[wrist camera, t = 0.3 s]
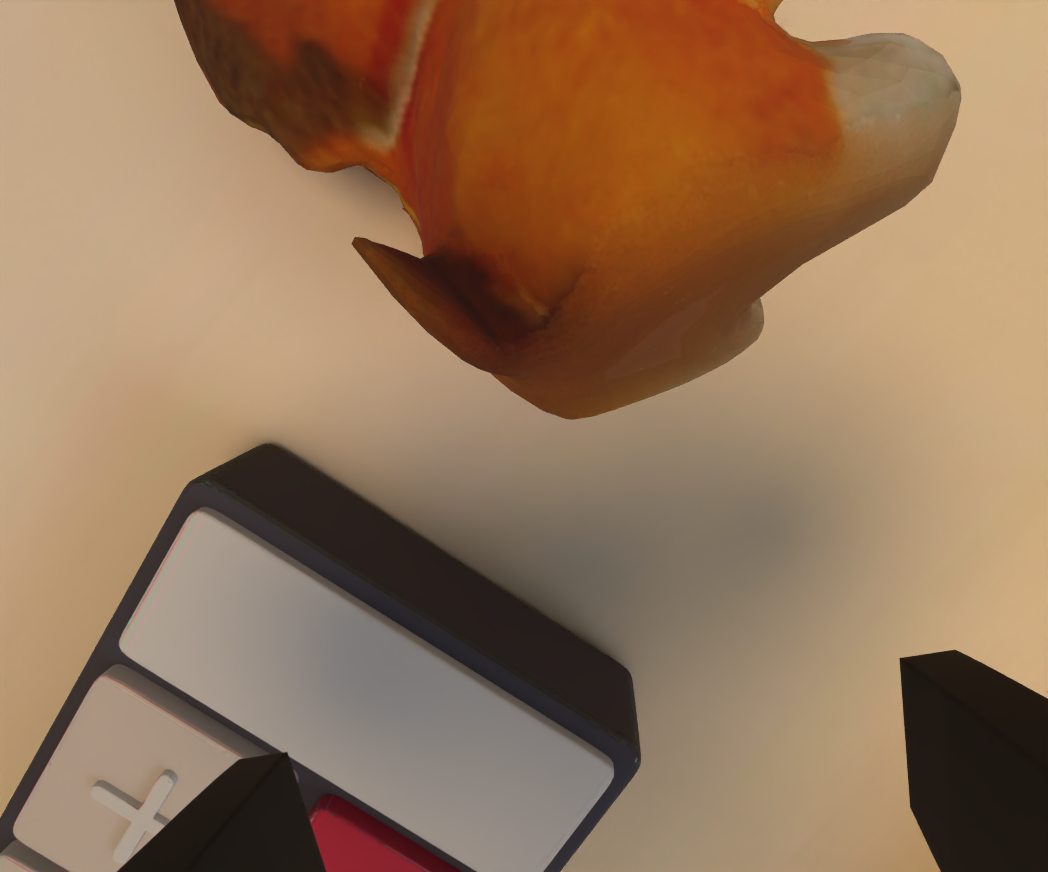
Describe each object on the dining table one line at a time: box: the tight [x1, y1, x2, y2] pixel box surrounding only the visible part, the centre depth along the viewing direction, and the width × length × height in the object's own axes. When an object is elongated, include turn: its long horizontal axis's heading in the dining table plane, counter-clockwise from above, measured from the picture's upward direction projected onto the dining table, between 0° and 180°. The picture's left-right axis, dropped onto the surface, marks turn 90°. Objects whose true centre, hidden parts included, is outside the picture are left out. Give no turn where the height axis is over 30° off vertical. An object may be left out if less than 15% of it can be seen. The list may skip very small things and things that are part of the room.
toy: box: [174, 0, 961, 419], centre depth 14 cm, size 11×9×15 cm
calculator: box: [0, 444, 641, 872], centre depth 19 cm, size 11×4×15 cm
